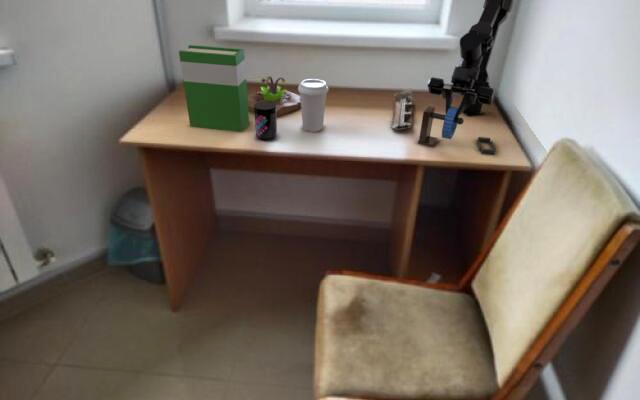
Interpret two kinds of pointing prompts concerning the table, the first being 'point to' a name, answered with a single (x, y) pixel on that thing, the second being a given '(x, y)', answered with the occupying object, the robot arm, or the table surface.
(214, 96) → the hardback book
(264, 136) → the supplement container
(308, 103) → the coffee cup
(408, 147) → the table surface
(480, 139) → the tape cradle
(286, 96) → the plant
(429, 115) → the hook stand
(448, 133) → the blue ridged ring
